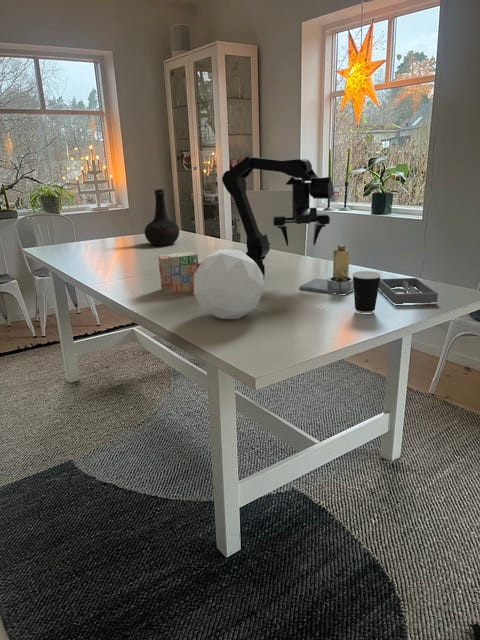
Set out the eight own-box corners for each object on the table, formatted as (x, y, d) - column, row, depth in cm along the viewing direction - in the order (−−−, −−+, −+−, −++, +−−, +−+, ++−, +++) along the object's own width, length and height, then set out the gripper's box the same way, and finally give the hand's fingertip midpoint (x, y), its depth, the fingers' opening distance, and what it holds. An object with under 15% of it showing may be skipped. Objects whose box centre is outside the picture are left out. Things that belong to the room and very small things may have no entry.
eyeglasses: (417, 303, 144) (417, 290, 143) (390, 305, 144) (390, 293, 143) (402, 290, 157) (402, 278, 156) (378, 293, 157) (377, 281, 156)
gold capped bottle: (338, 289, 156) (339, 247, 151) (329, 285, 160) (330, 245, 156) (351, 287, 158) (352, 246, 153) (341, 283, 162) (343, 243, 158)
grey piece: (299, 289, 161) (299, 278, 160) (315, 281, 170) (315, 271, 169) (344, 295, 152) (344, 284, 151) (359, 286, 162) (359, 276, 160)
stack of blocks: (220, 283, 173) (219, 249, 169) (225, 287, 167) (223, 252, 163) (161, 289, 167) (157, 254, 163) (163, 294, 162) (160, 257, 158)
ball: (215, 343, 136) (167, 292, 129) (238, 300, 150) (196, 252, 143) (265, 321, 124) (215, 263, 117) (285, 277, 138) (242, 223, 131)
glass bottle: (141, 247, 247) (135, 191, 237) (152, 241, 263) (147, 188, 254) (174, 247, 244) (170, 190, 234) (184, 241, 260) (180, 187, 251)
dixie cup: (344, 312, 136) (346, 274, 133) (360, 306, 141) (362, 269, 138) (369, 318, 131) (371, 279, 127) (384, 311, 136) (387, 273, 132)
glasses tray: (394, 305, 140) (395, 294, 139) (378, 289, 158) (378, 279, 156) (436, 304, 140) (438, 293, 139) (415, 288, 157) (416, 277, 156)
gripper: (274, 201, 153) (275, 250, 158) (333, 199, 153) (332, 248, 158) (272, 198, 164) (272, 244, 169) (327, 196, 164) (326, 242, 169)
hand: (300, 245), depth 166 cm, fingers open, 9 cm apart
